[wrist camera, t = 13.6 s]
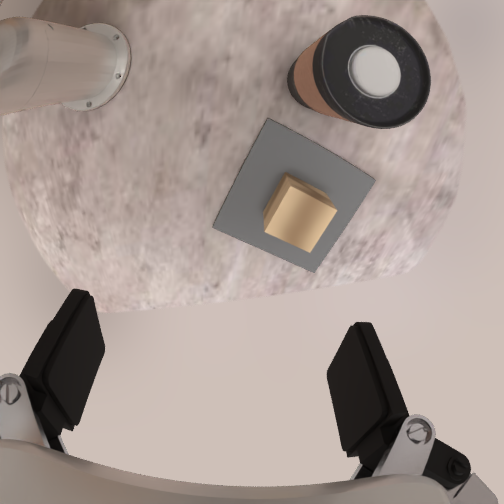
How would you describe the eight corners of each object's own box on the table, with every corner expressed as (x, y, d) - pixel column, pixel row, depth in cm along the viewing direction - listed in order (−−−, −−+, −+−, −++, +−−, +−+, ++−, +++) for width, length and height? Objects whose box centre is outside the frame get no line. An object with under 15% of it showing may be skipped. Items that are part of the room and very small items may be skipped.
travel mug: (344, 114, 33) (427, 140, 16) (283, 108, 33) (315, 122, 16) (347, 57, 29) (434, 32, 12) (285, 49, 29) (319, 2, 12)
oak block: (263, 211, 39) (264, 231, 34) (285, 171, 36) (290, 185, 31) (303, 230, 40) (310, 252, 35) (325, 193, 37) (337, 210, 32)
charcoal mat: (213, 224, 41) (212, 227, 40) (267, 117, 34) (268, 118, 33) (313, 269, 44) (314, 273, 43) (373, 178, 37) (375, 180, 36)
